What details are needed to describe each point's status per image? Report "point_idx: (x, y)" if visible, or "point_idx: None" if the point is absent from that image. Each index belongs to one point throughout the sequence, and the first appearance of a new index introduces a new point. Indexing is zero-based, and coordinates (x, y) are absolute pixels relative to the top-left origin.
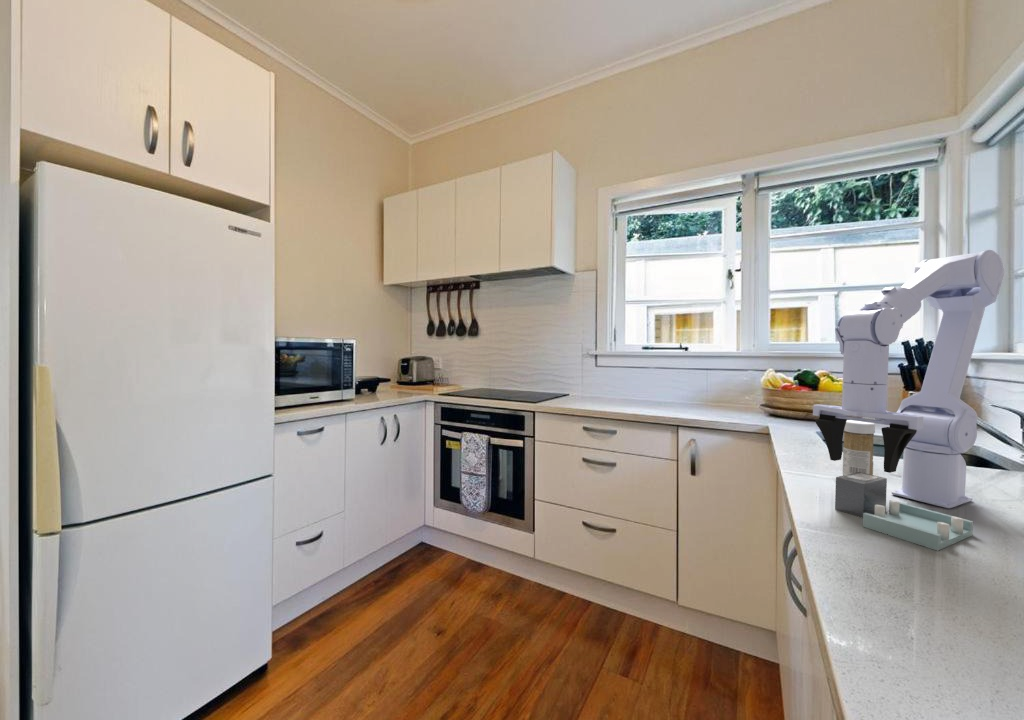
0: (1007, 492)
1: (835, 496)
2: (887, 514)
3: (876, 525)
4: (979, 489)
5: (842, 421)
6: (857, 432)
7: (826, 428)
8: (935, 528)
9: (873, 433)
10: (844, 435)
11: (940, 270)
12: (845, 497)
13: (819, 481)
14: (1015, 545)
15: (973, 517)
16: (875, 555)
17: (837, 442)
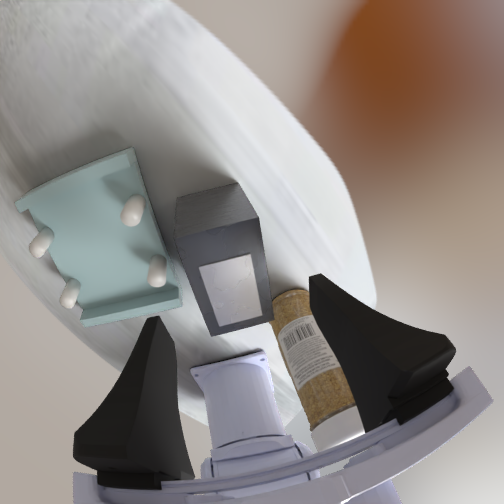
0: None
1: (244, 194)
2: (158, 246)
3: (104, 158)
4: None
5: (370, 421)
6: (336, 416)
7: (395, 344)
8: (86, 266)
9: (311, 433)
10: None
11: None
12: (220, 202)
13: (359, 297)
14: (63, 324)
15: None
16: (32, 55)
17: (339, 338)
